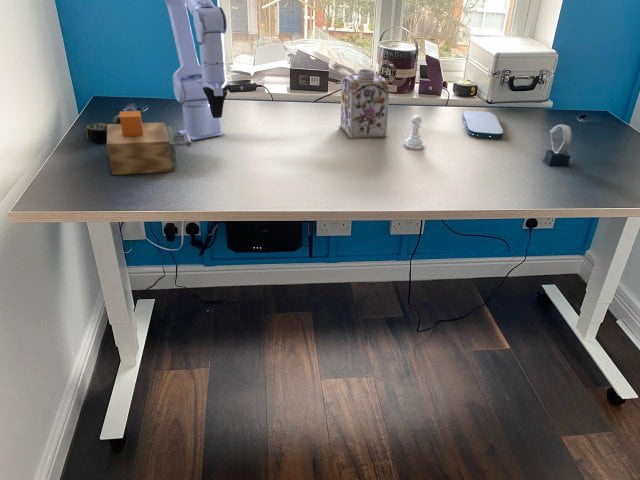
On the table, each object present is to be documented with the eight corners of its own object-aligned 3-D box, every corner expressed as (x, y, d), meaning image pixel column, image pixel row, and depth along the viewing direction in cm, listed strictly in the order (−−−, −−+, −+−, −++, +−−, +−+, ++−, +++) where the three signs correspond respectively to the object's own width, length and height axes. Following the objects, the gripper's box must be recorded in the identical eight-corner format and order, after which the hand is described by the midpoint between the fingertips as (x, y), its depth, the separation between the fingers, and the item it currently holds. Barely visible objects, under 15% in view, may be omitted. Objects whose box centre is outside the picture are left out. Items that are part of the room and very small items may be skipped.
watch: (559, 158, 177) (568, 121, 171) (570, 168, 170) (579, 130, 164) (541, 157, 176) (549, 120, 170) (551, 168, 169) (560, 129, 163)
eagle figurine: (148, 128, 168) (144, 113, 174) (130, 109, 163) (126, 94, 168) (125, 143, 168) (122, 127, 174) (107, 124, 163) (104, 108, 169)
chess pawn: (406, 142, 178) (409, 112, 173) (423, 145, 178) (426, 114, 173) (403, 148, 174) (406, 117, 169) (420, 150, 173) (424, 119, 169)
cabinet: (168, 150, 158) (164, 122, 154) (172, 171, 147) (168, 141, 143) (112, 153, 154) (107, 124, 150) (112, 175, 142) (106, 144, 138)
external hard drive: (504, 140, 187) (505, 134, 186) (467, 137, 186) (468, 131, 185) (493, 118, 207) (494, 112, 206) (460, 115, 206) (461, 109, 205)
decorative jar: (375, 125, 190) (379, 66, 181) (387, 137, 181) (392, 75, 171) (338, 126, 187) (341, 66, 177) (349, 138, 177) (351, 75, 168)
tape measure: (114, 143, 159) (111, 130, 157) (85, 144, 157) (83, 130, 155) (115, 135, 165) (113, 121, 163) (88, 136, 163) (85, 122, 161)
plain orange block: (142, 129, 148) (140, 110, 146) (143, 135, 145) (140, 116, 142) (122, 130, 147) (119, 111, 144) (122, 136, 143) (119, 117, 141)
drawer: (189, 147, 159) (186, 125, 156) (194, 165, 149) (192, 143, 146) (121, 150, 153) (117, 128, 150) (122, 169, 143) (118, 146, 140)
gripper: (192, 55, 151) (197, 109, 158) (199, 68, 139) (204, 126, 147) (221, 55, 153) (225, 108, 160) (230, 68, 142) (233, 125, 149)
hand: (216, 117), depth 154 cm, fingers closed
